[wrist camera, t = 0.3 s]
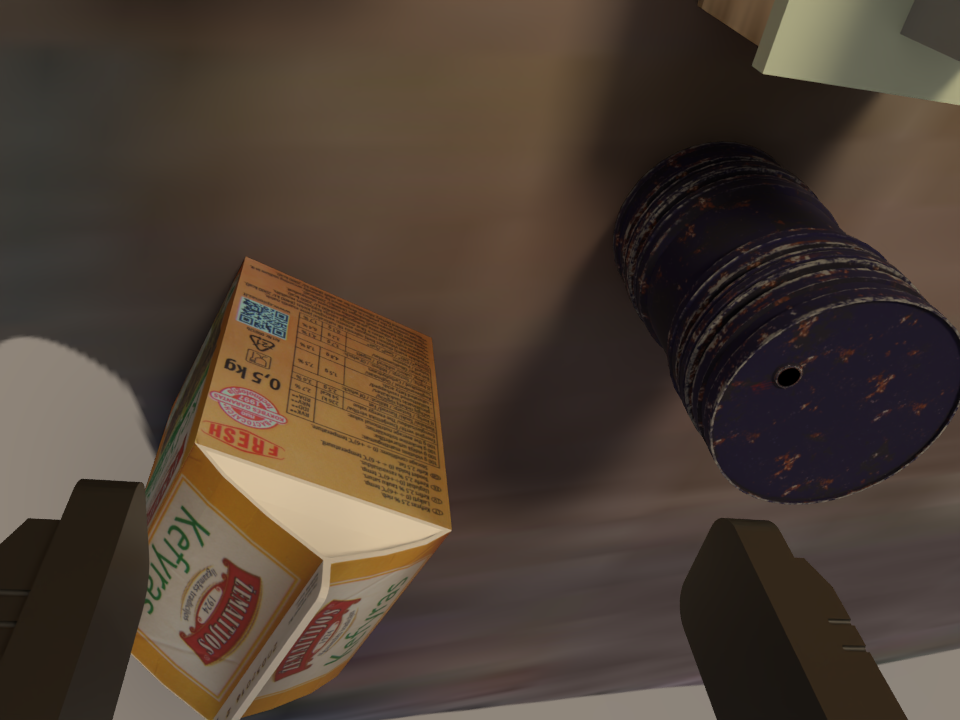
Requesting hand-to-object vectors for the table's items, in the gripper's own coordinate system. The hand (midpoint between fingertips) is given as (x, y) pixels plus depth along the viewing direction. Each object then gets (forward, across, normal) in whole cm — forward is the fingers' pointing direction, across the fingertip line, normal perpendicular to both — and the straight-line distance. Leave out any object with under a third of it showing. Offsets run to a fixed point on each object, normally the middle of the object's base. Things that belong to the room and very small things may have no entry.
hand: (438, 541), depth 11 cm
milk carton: (+29, +3, +18) cm, 34 cm away
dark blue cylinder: (+29, -17, +7) cm, 34 cm away
